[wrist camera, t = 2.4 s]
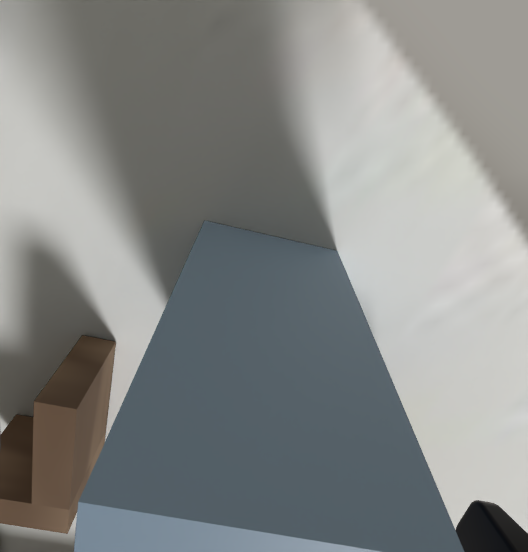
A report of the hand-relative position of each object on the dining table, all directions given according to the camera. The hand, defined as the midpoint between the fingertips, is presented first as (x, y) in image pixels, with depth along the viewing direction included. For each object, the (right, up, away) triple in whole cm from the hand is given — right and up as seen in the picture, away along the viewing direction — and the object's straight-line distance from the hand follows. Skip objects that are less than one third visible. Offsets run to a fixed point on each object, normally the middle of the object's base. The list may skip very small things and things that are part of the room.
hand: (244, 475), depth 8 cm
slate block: (0, +3, +7) cm, 7 cm away
